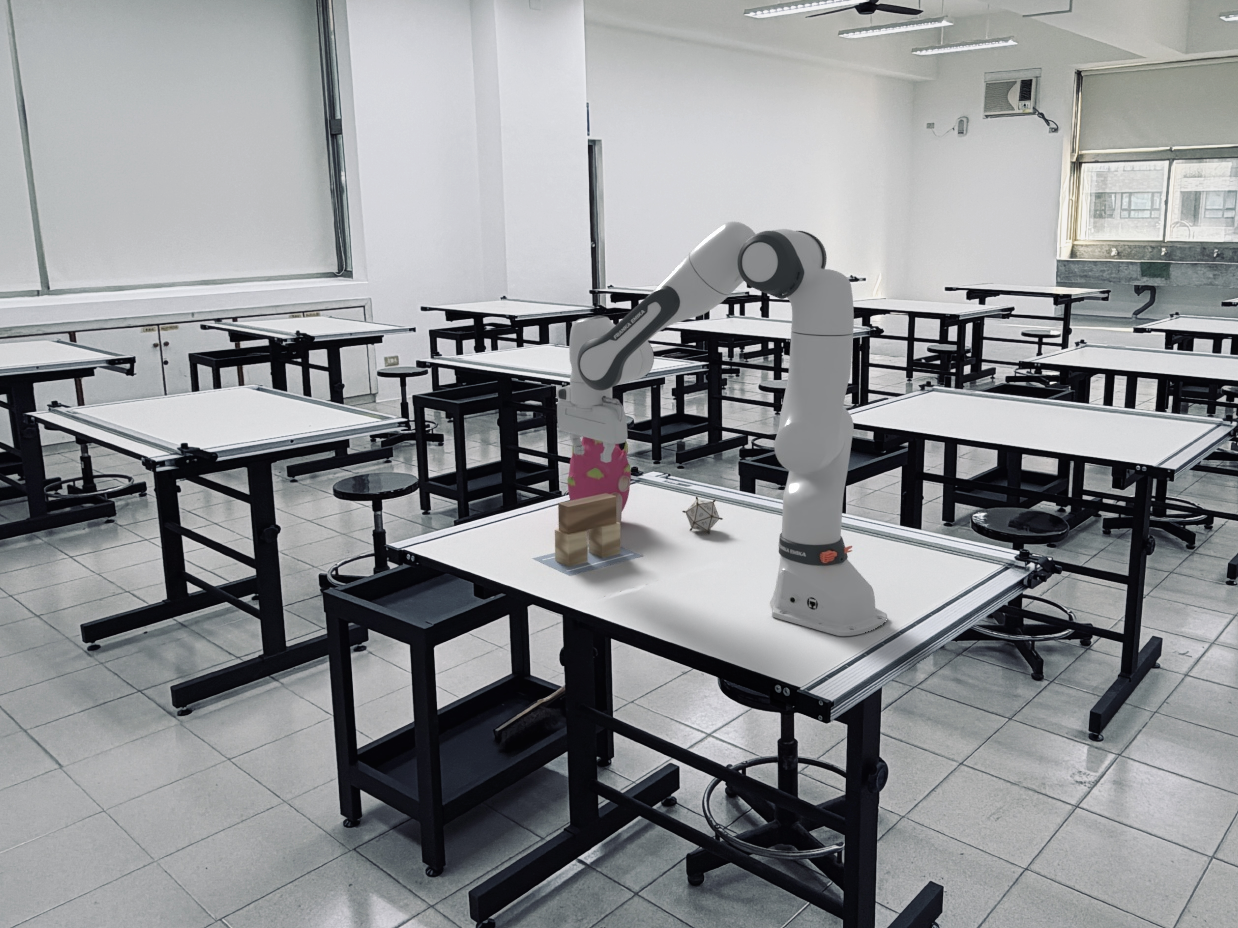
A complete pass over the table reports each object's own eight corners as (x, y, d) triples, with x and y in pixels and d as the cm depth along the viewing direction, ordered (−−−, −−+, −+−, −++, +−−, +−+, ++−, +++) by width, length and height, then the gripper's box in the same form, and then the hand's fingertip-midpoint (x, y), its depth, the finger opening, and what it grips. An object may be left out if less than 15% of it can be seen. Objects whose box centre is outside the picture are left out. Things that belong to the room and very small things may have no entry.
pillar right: (620, 553, 226) (620, 523, 224) (602, 558, 223) (602, 527, 221) (606, 547, 230) (606, 517, 228) (588, 552, 227) (588, 522, 225)
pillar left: (587, 561, 221) (587, 530, 219) (568, 566, 217) (568, 535, 216) (574, 556, 224) (573, 525, 223) (555, 560, 221) (554, 529, 220)
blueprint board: (643, 559, 225) (643, 555, 224) (569, 579, 212) (569, 575, 212) (604, 543, 235) (604, 540, 235) (532, 561, 223) (532, 558, 223)
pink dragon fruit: (587, 540, 237) (586, 413, 230) (553, 527, 248) (551, 405, 240) (646, 526, 248) (646, 404, 241) (611, 513, 258) (610, 396, 251)
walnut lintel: (616, 522, 224) (616, 496, 223) (568, 534, 217) (567, 506, 215) (606, 519, 227) (606, 493, 226) (558, 530, 219) (558, 503, 218)
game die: (709, 544, 246) (735, 513, 244) (694, 541, 239) (720, 509, 237) (685, 520, 250) (710, 489, 248) (669, 516, 243) (695, 484, 241)
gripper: (634, 398, 209) (634, 464, 212) (575, 386, 225) (576, 447, 228) (610, 402, 205) (610, 469, 209) (551, 389, 221) (553, 452, 224)
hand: (592, 457), depth 218 cm, fingers open, 8 cm apart
